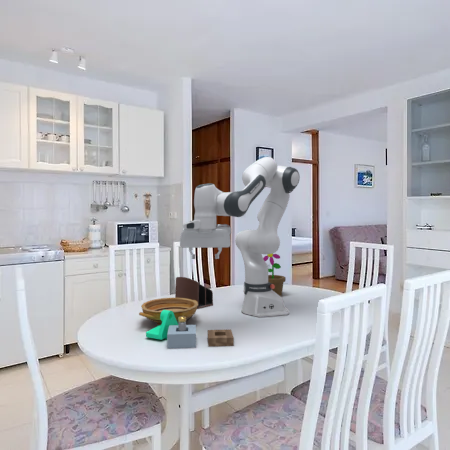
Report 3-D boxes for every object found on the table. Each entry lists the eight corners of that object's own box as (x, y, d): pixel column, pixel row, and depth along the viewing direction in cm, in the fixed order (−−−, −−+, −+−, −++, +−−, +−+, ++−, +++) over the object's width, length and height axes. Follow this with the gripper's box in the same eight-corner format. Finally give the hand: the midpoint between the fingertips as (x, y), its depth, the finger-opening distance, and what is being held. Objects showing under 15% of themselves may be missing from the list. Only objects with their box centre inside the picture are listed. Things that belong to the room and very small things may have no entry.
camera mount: (162, 330, 150) (162, 305, 149) (179, 332, 147) (178, 307, 146) (144, 339, 139) (144, 312, 138) (161, 342, 136) (161, 315, 135)
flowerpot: (255, 295, 207) (256, 242, 206) (266, 291, 220) (266, 240, 218) (279, 299, 200) (279, 244, 198) (289, 293, 212) (289, 242, 211)
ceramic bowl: (159, 337, 140) (158, 317, 140) (124, 324, 157) (124, 305, 157) (214, 320, 162) (214, 302, 161) (178, 310, 178) (178, 293, 178)
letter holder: (197, 309, 180) (197, 281, 179) (174, 301, 195) (174, 275, 194) (213, 305, 187) (213, 278, 186) (190, 298, 201) (190, 273, 201)
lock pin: (186, 341, 136) (186, 316, 136) (186, 344, 134) (185, 318, 133) (178, 341, 136) (178, 316, 136) (178, 344, 133) (178, 318, 133)
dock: (195, 337, 140) (195, 324, 140) (195, 347, 130) (195, 333, 130) (169, 338, 140) (169, 325, 139) (167, 348, 130) (167, 334, 129)
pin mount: (231, 337, 141) (231, 329, 141) (233, 345, 132) (233, 337, 132) (207, 337, 140) (207, 330, 140) (208, 346, 131) (208, 338, 131)
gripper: (230, 223, 151) (230, 257, 151) (180, 224, 149) (180, 257, 150) (232, 224, 144) (231, 259, 145) (179, 224, 143) (179, 260, 143)
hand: (205, 258), depth 147 cm, fingers open, 8 cm apart
